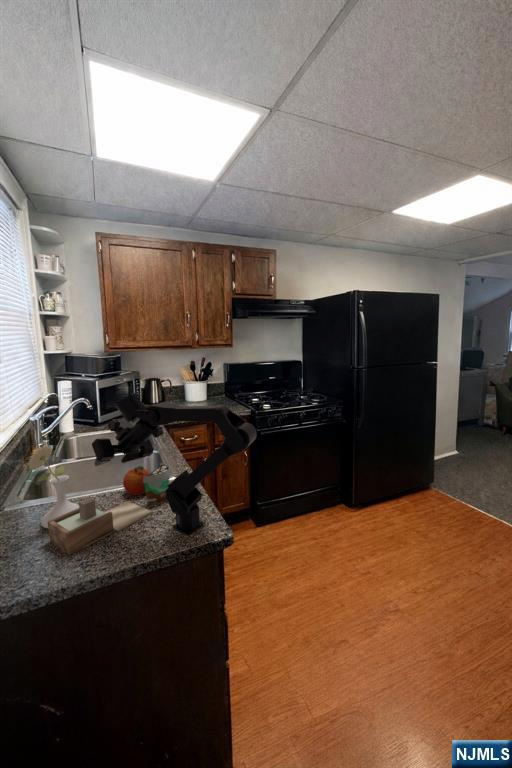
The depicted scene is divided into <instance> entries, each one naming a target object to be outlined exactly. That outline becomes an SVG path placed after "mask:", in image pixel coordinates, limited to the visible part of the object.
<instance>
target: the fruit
mask: <svg viewBox="0 0 512 768" xmlns="http://www.w3.org/2000/svg"><path fill="white" fill-rule="evenodd" d="M150 474H151V472H149V471H148V470H147V469H145V468H144V466H142V465H139V466H137V467H136V466H135V467H134V469H130V470H128V471H127V472H126V474H124V477H123V482H122V485H123V488H124V491H125V492H127V493H128V494H129V495H133V496H139V495H143V494H144V493H146V490H145V483H143V478H144V476H149V475H150Z"/></svg>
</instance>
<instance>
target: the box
mask: <svg viewBox="0 0 512 768" xmlns="http://www.w3.org/2000/svg"><path fill="white" fill-rule="evenodd" d="M78 513H80V511H79V508H78V509H75V510H73V511H71V512H69V513H66V514H64V515H62V516H59V517H57V518H55V519H52V520H50V521H48V528H47V529H48V536H49V542H50V543H51V544H53V545H54V546H56V547H57V548H59V549H60V550H62V552H63V553H66V554H67V555H69V556H72V555H73V554H75V553H77V552H80V551H81V550H83V549H84V548H86V547H89V546H90V545H92V544H94V543H96V542H97V541H100V540H101V539H103V538H105V537H107V536H108V535H110V534H112V533H114V532H115V530H114V528H113V517H112V512H108V513H106V514H104V515H102V516H100V517H98V518H96V519H94V520H91V521H89V522H87V523H85V524H83V525H81V526H79V527H77V528H75V529H73V530H71V531H69V530H67V529H66V528H64V527H62V526H61V525H59V524H58V522H60V521H62V520H65V519H67V518H69V517H71V516H74V515H76V514H78Z"/></svg>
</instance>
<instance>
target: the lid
mask: <svg viewBox="0 0 512 768" xmlns="http://www.w3.org/2000/svg"><path fill="white" fill-rule="evenodd" d="M78 505H79V511H80V513H78V514H76V515H74V516H71V517H69V518H67V519H65V520H62V521H60V522H58V524H59V525H61V526H62V527H64V528H66V529H67V530H69V531H71V530H73V529H75V528H77V527H79V526H81V525H83V524H85V523H87V522H89V521H91V520H94V519H96V518H98V517H100V516H102V515H104V514H106V513H104V512H105V511H102V510H100V509H98V508H97V507H96V500H95V499H94V498H91V497H88V498H87V497H86V498H85V499H83V500H80V501H78Z"/></svg>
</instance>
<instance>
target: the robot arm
mask: <svg viewBox="0 0 512 768" xmlns="http://www.w3.org/2000/svg"><path fill="white" fill-rule="evenodd" d="M115 407H116V409H117V410H118V412H119V413H120V414H121V415H122V417H123V418H124V419H123V418H114V419H112V420H111V419H110V421H109V423H108V424H107V429H109V430H110V432H114V433H115V434H116V435H115V440H116V441H118V442H117V444H112V441H111V439H110V438H107V437H101V438H95V439H94V440H93V442H91V446H92V450H93V452H94V455H95V461H94V466H95V467H99V466H101V465H104V464H106V463H109V462H111V460H112V459H114V457H115V455H116V454H123V455H124V456H123V457H122V458H121V460H120V462H121V463H122V464H125V463H128V462H131V461H135V460H139V459H143V458H146V457H150V456H152V455H153V453H154V449H155V448H154V446H153V444H152V442H151V440H150V438H151V437H152V436H153V437H154V438H155V439H157V438H160V437H161V436H163V435H164V431H163V430H164V429H163V426H165V425H168V424H171V423H176V422H212V423H214V424H215V425H216V426H217V427H218V429H219V432H220V433H221V435H222V436H223V437H224V438H225V439H223V441H222V443H221V445H220V447H218V448H217V449H216V450H215V451H214V452H213V453H211V455H209V456H208V457H207V458H206V459H205V460H204V461H202V463H200V464H199V465H198V466H197V467H196V468H195V469H193V470H192V472H189V471H188V469H186V470H184V471H183V472H181V473H180V474H179V475H178V476H175V478H174V479H173V480H172V481H171V482H169V484H168V485H167V487H169V488H167V490H166V491H165V493H166V498H167V499H166V500H167V502H168V505H169V508H170V510H171V513H173V514H175V522H176V524H174V525H172V529H174V530H175V531H177V532H180V533H182V534H184V535H187V536H188V535H190V534H192V533H194V531H196V530H198V529H199V528H201V527H202V526H204V521H202V520H200V506H198V503H199V502H201V500H202V499H203V493H202V492H201V491H200V489H198V487H199V485H200V484H201V482H202V481H204V479H206V477H208V476H209V475H210V474H211V473H212V472H214V471H215V470H216V469H217V468H218V467H220V466H221V465H222V464H223V463H224V462H225V461H226V460H227V459H228V458H231V457H233V456H235V455H238V453H240V452H243V451H244V450H246V449H247V448H248V447H249V446H250V445H252V443H253V442H254V441H255V440H256V439H257V434H258V433H257V430H256V428H255V426H254V425H253V424H252V423H249V422H247V421H246V420H245V419H244V418H243V417H242V416H240V415H238V414H236V413H235V412H233V411H232V410H231V409H230V408H229V407H228V406H227V405H224V404H219V405H184V406H183V405H179V404H176V403H174V402H167V401H163V402H158V403H156V404H153V405H150V404H149V405H148V406H145V405H144V403H143V402H142V401H141V400H140V398H139V396H138V395H137V393H135V392H133V393H130V394H129V395H127V396H126V397H124V398H122V399H121V400H119V401H117V403H116V404H115ZM132 423H134V425H133V424H132Z"/></svg>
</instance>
